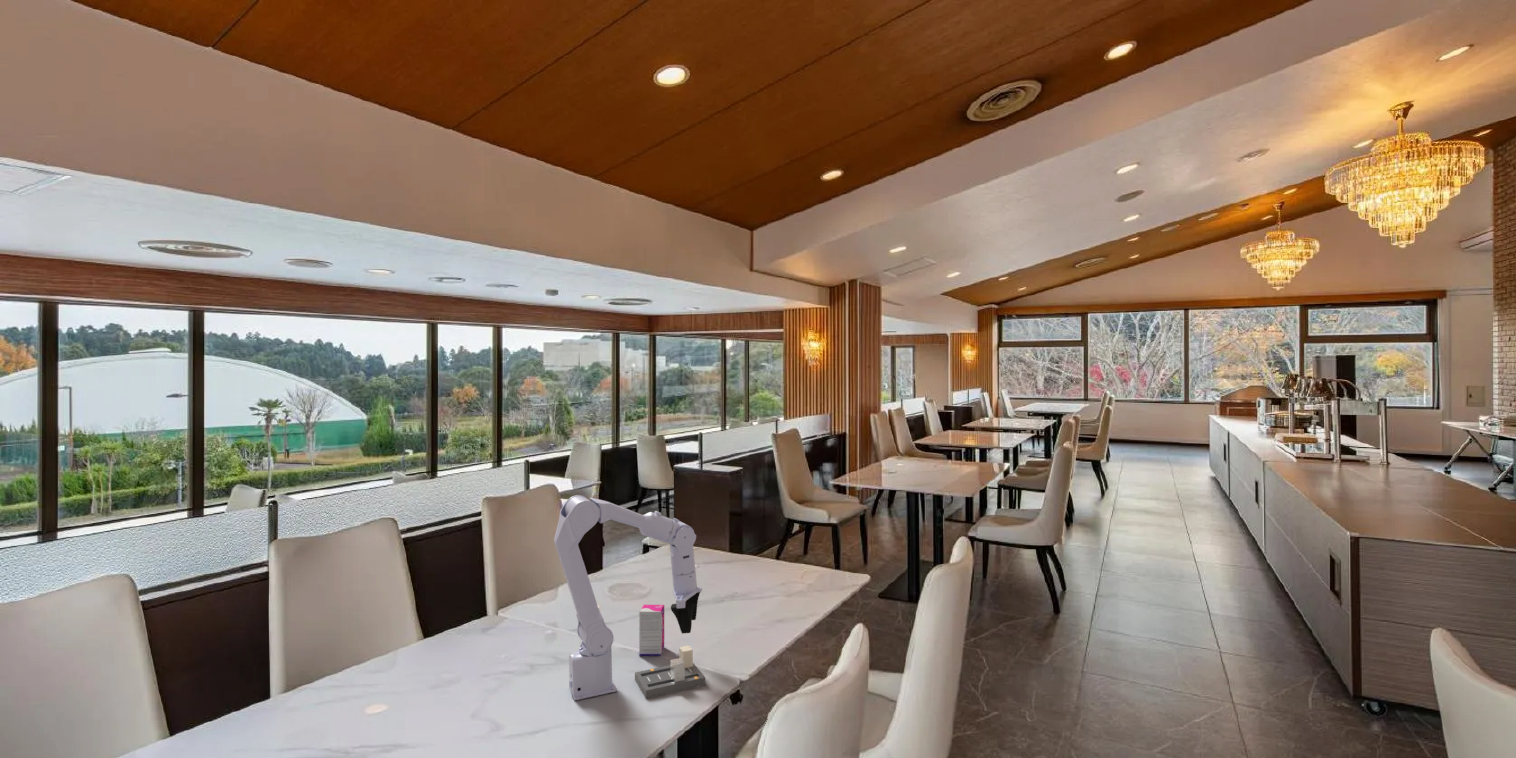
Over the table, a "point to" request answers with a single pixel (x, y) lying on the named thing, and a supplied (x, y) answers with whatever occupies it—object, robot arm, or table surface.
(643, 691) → the console
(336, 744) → the table surface
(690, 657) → the fader far
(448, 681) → the table surface
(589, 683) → the robot arm
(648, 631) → the supplement box
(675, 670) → the fader near
